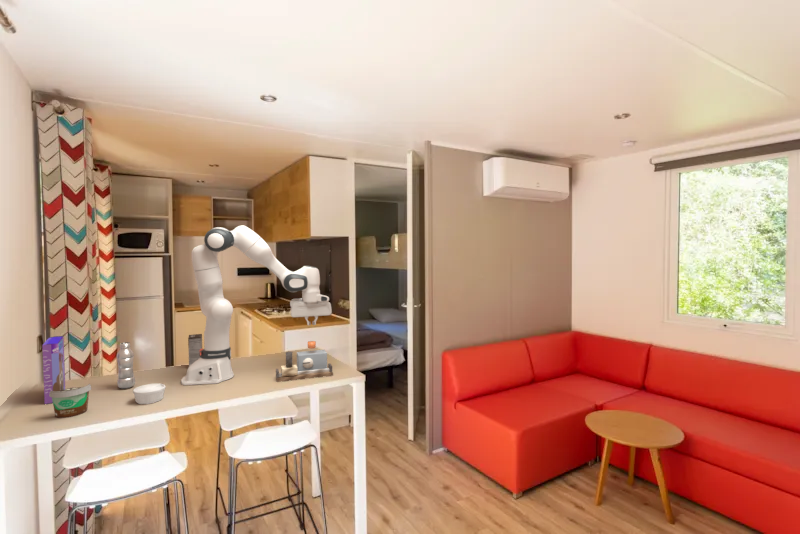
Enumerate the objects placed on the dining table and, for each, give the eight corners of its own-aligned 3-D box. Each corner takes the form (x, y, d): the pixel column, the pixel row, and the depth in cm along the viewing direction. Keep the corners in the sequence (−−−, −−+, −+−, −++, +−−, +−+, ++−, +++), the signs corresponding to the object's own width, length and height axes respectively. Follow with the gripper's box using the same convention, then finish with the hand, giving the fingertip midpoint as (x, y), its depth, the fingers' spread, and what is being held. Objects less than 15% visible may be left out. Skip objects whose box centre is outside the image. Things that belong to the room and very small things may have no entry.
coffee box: (189, 364, 217) (188, 334, 217) (202, 363, 220) (202, 333, 219) (188, 368, 209) (188, 338, 208) (202, 367, 212) (201, 336, 211)
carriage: (282, 377, 189) (281, 354, 189) (281, 373, 195) (280, 351, 194) (297, 375, 192) (297, 353, 191) (296, 372, 197) (295, 350, 197)
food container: (48, 422, 144) (47, 394, 144) (50, 416, 149) (48, 389, 149) (91, 414, 152) (90, 387, 151) (92, 408, 157) (91, 383, 156)
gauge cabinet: (299, 374, 200) (298, 356, 199) (296, 369, 208) (296, 352, 207) (327, 371, 205) (327, 353, 204) (324, 366, 213) (324, 349, 212)
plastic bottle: (138, 385, 183) (137, 341, 182) (125, 391, 176) (123, 345, 176) (127, 384, 185) (126, 341, 184) (113, 389, 178) (112, 344, 177)
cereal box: (60, 402, 164) (58, 343, 163) (44, 404, 161) (42, 344, 160) (65, 389, 178) (63, 335, 177) (51, 391, 175) (49, 336, 174)
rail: (276, 382, 188) (276, 372, 188) (275, 377, 195) (275, 368, 194) (332, 375, 197) (332, 366, 197) (329, 371, 204) (329, 362, 204)
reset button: (308, 348, 204) (308, 343, 203) (307, 347, 207) (307, 341, 207) (316, 348, 205) (316, 342, 205) (315, 346, 209) (315, 340, 209)
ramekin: (169, 400, 165) (168, 387, 165) (137, 408, 158) (136, 394, 157) (161, 393, 173) (161, 381, 173) (130, 400, 166) (130, 387, 165)
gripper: (290, 299, 198) (291, 327, 199) (332, 297, 206) (332, 324, 206) (289, 297, 204) (289, 325, 205) (329, 296, 212) (330, 322, 212)
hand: (311, 325), depth 206 cm, fingers closed
